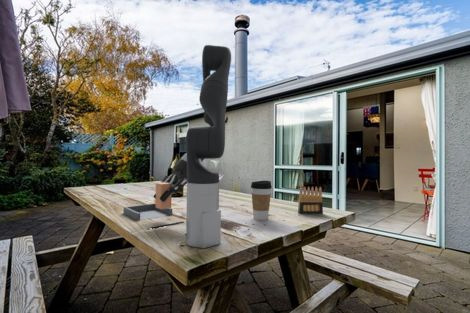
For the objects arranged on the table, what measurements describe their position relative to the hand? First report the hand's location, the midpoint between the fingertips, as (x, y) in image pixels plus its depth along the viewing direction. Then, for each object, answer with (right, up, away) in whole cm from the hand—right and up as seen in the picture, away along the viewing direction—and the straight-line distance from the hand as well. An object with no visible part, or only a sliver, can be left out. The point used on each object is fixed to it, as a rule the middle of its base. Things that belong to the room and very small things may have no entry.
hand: (158, 199), depth 90 cm
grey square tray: (-8, -9, +11) cm, 16 cm away
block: (+1, -3, +1) cm, 4 cm away
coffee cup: (+38, -10, +10) cm, 41 cm away
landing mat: (+1, -9, +1) cm, 9 cm away
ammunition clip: (+61, -10, +20) cm, 65 cm away
